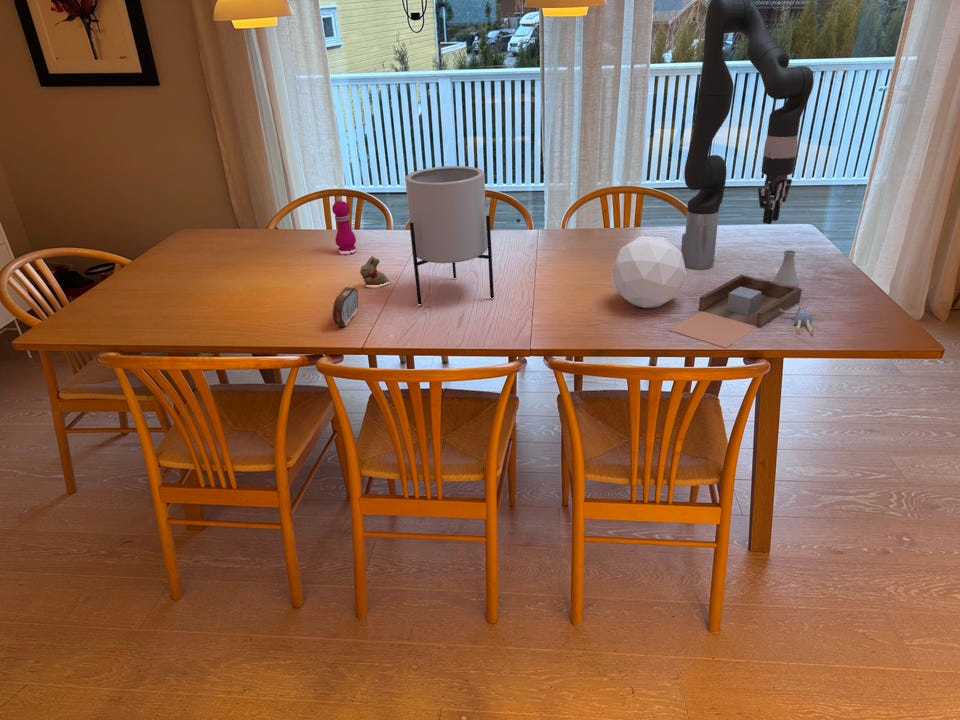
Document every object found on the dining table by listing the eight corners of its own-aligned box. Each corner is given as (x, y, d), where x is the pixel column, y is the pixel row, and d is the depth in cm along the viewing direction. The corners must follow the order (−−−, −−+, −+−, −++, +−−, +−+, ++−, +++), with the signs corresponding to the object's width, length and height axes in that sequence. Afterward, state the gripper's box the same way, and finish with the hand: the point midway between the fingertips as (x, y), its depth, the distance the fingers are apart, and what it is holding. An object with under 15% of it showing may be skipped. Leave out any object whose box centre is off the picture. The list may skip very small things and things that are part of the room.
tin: (351, 309, 201) (347, 282, 197) (361, 309, 200) (357, 282, 196) (334, 331, 187) (329, 302, 184) (345, 331, 187) (340, 302, 183)
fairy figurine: (781, 322, 169) (778, 298, 178) (778, 338, 172) (775, 314, 181) (833, 324, 166) (826, 300, 175) (829, 341, 169) (823, 317, 178)
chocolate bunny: (367, 282, 220) (363, 252, 215) (391, 282, 218) (387, 252, 214) (361, 288, 215) (357, 257, 211) (385, 289, 214) (381, 258, 209)
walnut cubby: (698, 310, 186) (699, 297, 184) (739, 287, 198) (741, 274, 196) (760, 328, 174) (762, 313, 172) (799, 302, 187) (801, 288, 185)
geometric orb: (665, 328, 193) (707, 285, 177) (601, 312, 187) (639, 267, 172) (656, 276, 203) (696, 231, 188) (595, 259, 198) (631, 212, 182)
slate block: (726, 310, 184) (728, 293, 182) (738, 303, 188) (740, 286, 186) (748, 316, 180) (750, 298, 178) (759, 309, 184) (761, 291, 182)
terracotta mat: (668, 330, 176) (668, 329, 176) (700, 311, 185) (701, 310, 185) (725, 348, 165) (726, 347, 165) (757, 327, 174) (757, 326, 174)
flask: (801, 289, 194) (806, 256, 190) (773, 289, 196) (778, 255, 191) (796, 280, 201) (801, 247, 196) (769, 280, 202) (774, 247, 198)
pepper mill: (341, 249, 252) (332, 194, 243) (360, 249, 251) (352, 194, 242) (334, 255, 246) (325, 200, 237) (354, 255, 245) (346, 199, 236)
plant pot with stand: (441, 276, 220) (431, 163, 204) (510, 285, 210) (505, 166, 194) (402, 304, 202) (387, 182, 185) (475, 315, 192) (466, 186, 175)
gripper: (778, 147, 178) (769, 213, 186) (751, 157, 170) (743, 225, 178) (807, 150, 173) (796, 218, 181) (781, 160, 165) (771, 230, 173)
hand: (770, 221), depth 179 cm, fingers open, 3 cm apart
